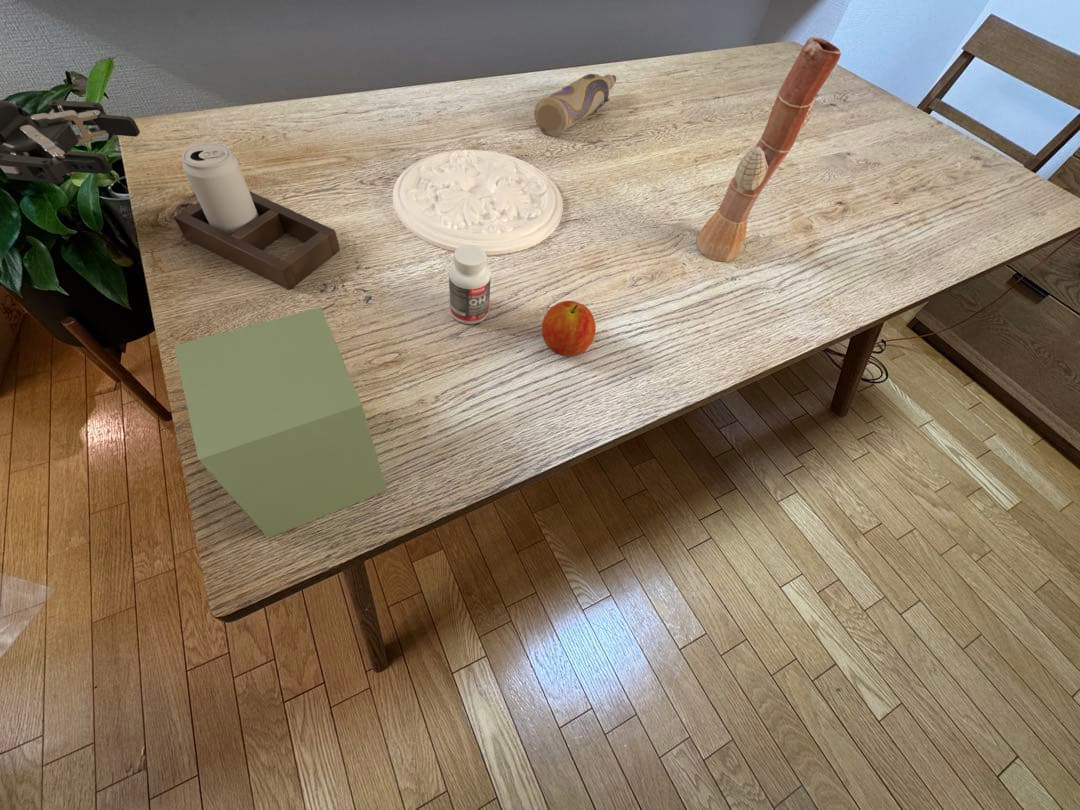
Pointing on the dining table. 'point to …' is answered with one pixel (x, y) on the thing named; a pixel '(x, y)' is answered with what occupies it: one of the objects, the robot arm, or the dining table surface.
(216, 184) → the beverage can
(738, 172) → the vase
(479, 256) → the pill bottle
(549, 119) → the decorative bottle
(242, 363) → the stand
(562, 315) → the fruit
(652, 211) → the dining table surface
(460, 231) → the ceiling medallion
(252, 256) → the tray
